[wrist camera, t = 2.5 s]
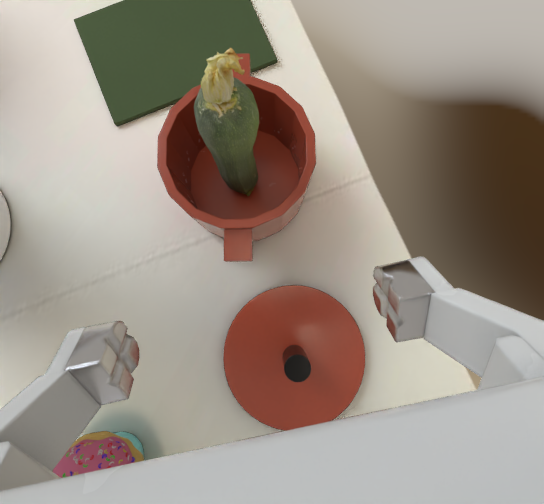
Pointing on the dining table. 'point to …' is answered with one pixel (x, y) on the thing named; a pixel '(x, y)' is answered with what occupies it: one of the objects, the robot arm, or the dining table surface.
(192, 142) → the pot
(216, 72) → the vegetable
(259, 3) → the dining table surface
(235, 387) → the pot lid
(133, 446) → the cupcake
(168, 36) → the mat
